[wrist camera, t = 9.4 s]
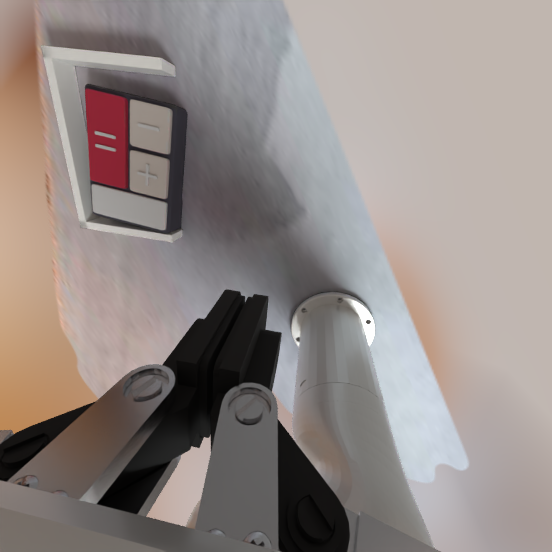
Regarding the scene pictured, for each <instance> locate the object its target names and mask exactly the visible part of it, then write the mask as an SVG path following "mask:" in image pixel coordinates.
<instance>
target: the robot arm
mask: <svg viewBox="0 0 552 552" xmlns="http://www.w3.org/2000/svg"><path fill="white" fill-rule="evenodd" d="M339 298H340V299H339ZM267 308H268V296H263V295H257V294H254V295H253V297H248V298H247V300H246V302H245V296H241V293H240V292H239V291H232V290H225V291H224V292H223V294H222V295H221V297H220V298H219V300H218V301H217V302H216V304H215V305H214V307H213V308H212V309H211V311H210V312H209V314H208V315H207V317H206V318H205V319H200V318H199V319H197V320H196V321H195V322H194V324H193V325H192V326H191V328H190V329H189V330H188V332H187V333H186V334H185V336H184V337H183V338H182V340H181V341H180V342H179V344H178V345H177V346H176V348H175V349H174V350H173V352H172V353H171V354H170V355H169V357H168V358H167V359H166V361H165V362H164V363H163V365H158V364H153V365H146V366H142V367H139V368H137V369H134V370H132V371H131V372H129V373H128V374H127V375H125V376H124V377H123V378H122V379H121V380H120V381H118V382H117V383H116V384H115V385H114V386H113V387H112V388H111V389H109V390H108V391H107V392H106V393H105V394H104V395H103V396H102V397H101V398H99V399H98V400H97V401H96V402H93V403H91V404H88V405H86V406H83V407H80V408H77V409H75V410H72V411H69V412H67V413H64V414H62V415H59V416H56V417H54V418H51V419H48V420H46V421H43V422H41V423H38V424H35V425H33V426H30V427H28V428H26V429H24V430H22V431H19V432H17V433H15V434H13V432H12V430H0V552H440V551H438V550H436V549H435V547H434V544H433V542H432V540H431V538H430V535H429V532H428V530H427V528H426V525H425V523H424V520H423V518H422V516H421V513H420V511H419V508H418V506H417V503H416V501H415V499H414V496H413V494H412V491H411V488H410V486H409V483H408V480H407V478H406V475H405V472H404V470H403V467H402V464H401V460H400V457H399V454H398V451H397V447H396V444H395V441H394V437H393V434H392V430H391V427H390V423H389V419H388V415H387V412H386V408H385V404H384V400H383V396H382V393H381V389H380V385H379V381H378V377H377V373H376V370H375V366H374V362H373V358H372V354H371V351H370V347H369V346H370V345H371V343H372V341H373V339H374V334H375V323H374V320H373V317H372V314H371V312H370V311H369V309H368V308H367V306H366V305H365V304H363V303H362V302H361V301H360V300H358V299H357V298H355V297H353V296H350V295H348V294H344V293H339V292H326V293H320V294H317V295H314V296H312V297H310V298H308V299H306V300H305V301H304V302H302V303H301V304H300V306H299V307H298V308H297V309H296V311H295V313H294V315H293V318H292V324H291V333H292V336H293V339H294V341H295V343H296V345H297V346H298V347H299V355H298V365H297V375H296V386H295V396H294V406H293V418H292V427H293V435H294V439H295V441H294V440H293V438H292V437H291V436H290V435H289V433H288V432H287V431H286V429H285V428H284V427H283V426H282V424H281V423H280V421H279V420H278V411H277V409H278V408H277V401H276V398H275V396H274V395H273V393H272V388H273V383H274V378H275V373H276V368H277V362H278V356H279V350H280V342H281V334H282V333H280V332H274V331H269V330H265V328H266V318H267ZM304 308H305V309H304ZM367 319H368V320H367ZM210 435H211V456H210V460H209V465H208V469H207V474H206V479H205V483H204V488H203V493H202V497H201V500H200V501H199V502H198V503H197V505H196V507H195V508H194V510H193V512H192V513H191V515H190V517H189V520H188V522H187V525H186V527H184V526H180V525H176V524H172V523H168V522H165V521H160V520H157V519H153V518H149V517H146V516H147V514H148V512H149V511H150V509H151V507H152V506H153V504H154V503H155V501H156V499H157V497H158V496H159V494H160V493H161V491H162V490H163V488H164V486H165V485H166V483H167V481H168V480H169V478H170V477H171V475H172V473H173V471H174V470H175V468H176V467H177V465H178V463H179V460H180V458H181V455H182V454H183V453H185V452H187V451H189V450H190V448H191V446H193V447H197V448H199V447H200V445H201V443H202V440H203V438H204V437H207V438H209V437H210Z"/></svg>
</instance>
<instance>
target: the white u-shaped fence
mask: <svg viewBox="0 0 552 552" xmlns="http://www.w3.org/2000/svg"><path fill="white" fill-rule="evenodd" d="M41 48H42V53H43V58H44V62H45V67H46V71H47V76H48V80H49V85H50V90H51V94H52V99H53V103H54V108H55V113H56V117H57V122H58V126H59V131H60V135H61V140H62V145H63V149H64V154H65V158H66V163H67V168H68V172H69V177H70V181H71V186H72V190H73V195H74V200H75V204H76V209H77V213H78V218H79V223H80V227H81V228H86V229H92V230H98V231H104V232H111V233H117V234H123V235H129V236H135V237H142V238H148V239H154V240H160V241H166V242H174V241H176V240H177V239H179V238H181V237H182V236H183V231H182V229H177V230H175V231H173V232H171V233H168V234H166V233H162V232H158V231H154V230H150V229H147V228H143V227H139V226H135V225H131V224H127V223H124V222H120V221H116V220H112V219H108V218H105V217H101V216H97V215H94V214H93V213H92V203H91V186H90V169H89V152H88V137H87V132H86V126H85V120H84V115H83V109H82V104H81V98H80V93H79V87H78V81H77V76H76V70H75V66H79V67H89V68H98V69H107V70H116V71H125V72H135V73H144V74H153V75H162V76H171V77H176V73H175V66H174V65H172V64H171V63H169V62H167V61H166V60H164V59H162V58H159V57H149V56H139V55H130V54H120V53H110V52H101V51H91V50H81V49H72V48H62V47H52V46H43V45H41Z"/></svg>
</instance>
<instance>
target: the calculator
mask: <svg viewBox="0 0 552 552" xmlns="http://www.w3.org/2000/svg"><path fill="white" fill-rule="evenodd" d="M85 99H86V117H87V134H88V152H89V169H90V186H91V203H92V213H93V214H94V215H97V216H101V217H105V218H108V219H112V220H116V221H120V222H124V223H127V224H131V225H135V226H139V227H143V228H147V229H150V230H154V231H158V232H162V233H166V234H168V233H171V232H173V231H175V230H177V229H179V228H181V218H182V187H183V174H184V161H185V146H186V129H187V112H186V110H185V109H182V108H180V107H178V106H176V105H173V104H169V103H165V102H161V101H156V100H152V99H148V98H144V97H140V96H136V95H132V94H128V93H124V92H120V91H115V90H111V89H107V88H103V87H99V86H95V85H91V84H87V85H86V86H85Z"/></svg>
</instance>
